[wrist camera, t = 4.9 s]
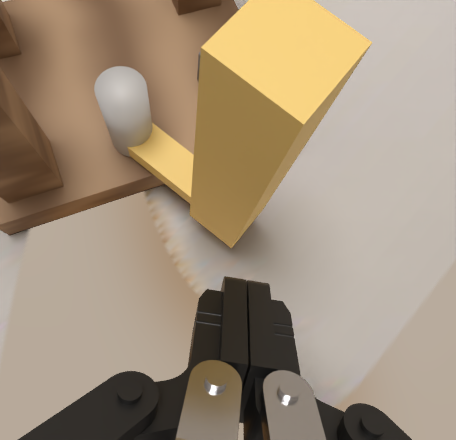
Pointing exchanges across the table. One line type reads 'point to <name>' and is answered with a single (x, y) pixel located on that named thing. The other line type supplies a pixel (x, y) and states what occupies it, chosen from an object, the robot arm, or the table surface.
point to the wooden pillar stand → (90, 96)
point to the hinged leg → (240, 109)
